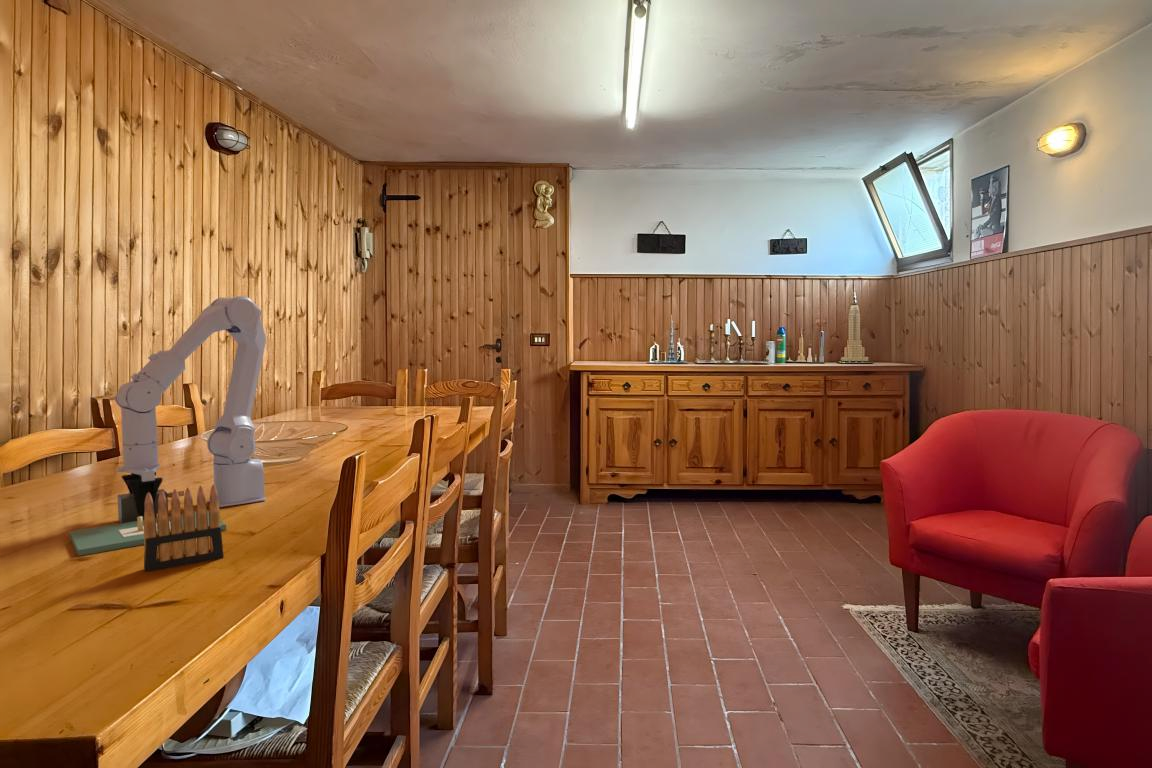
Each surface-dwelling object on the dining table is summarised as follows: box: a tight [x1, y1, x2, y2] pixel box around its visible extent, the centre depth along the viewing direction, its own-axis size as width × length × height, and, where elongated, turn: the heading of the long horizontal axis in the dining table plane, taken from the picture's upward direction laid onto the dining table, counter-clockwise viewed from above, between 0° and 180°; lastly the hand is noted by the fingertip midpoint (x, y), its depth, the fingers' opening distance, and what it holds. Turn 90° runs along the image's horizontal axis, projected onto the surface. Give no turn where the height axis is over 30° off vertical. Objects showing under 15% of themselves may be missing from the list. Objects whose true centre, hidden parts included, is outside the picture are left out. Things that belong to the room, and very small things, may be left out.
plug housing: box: [117, 488, 185, 524], centre depth 131 cm, size 11×4×5 cm, turn 132°
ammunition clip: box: [143, 483, 224, 573], centre depth 105 cm, size 11×2×12 cm, turn 128°
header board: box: [69, 509, 227, 557], centre depth 121 cm, size 22×14×4 cm, turn 132°
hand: (143, 511), depth 130 cm, fingers closed on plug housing, 4 cm apart
